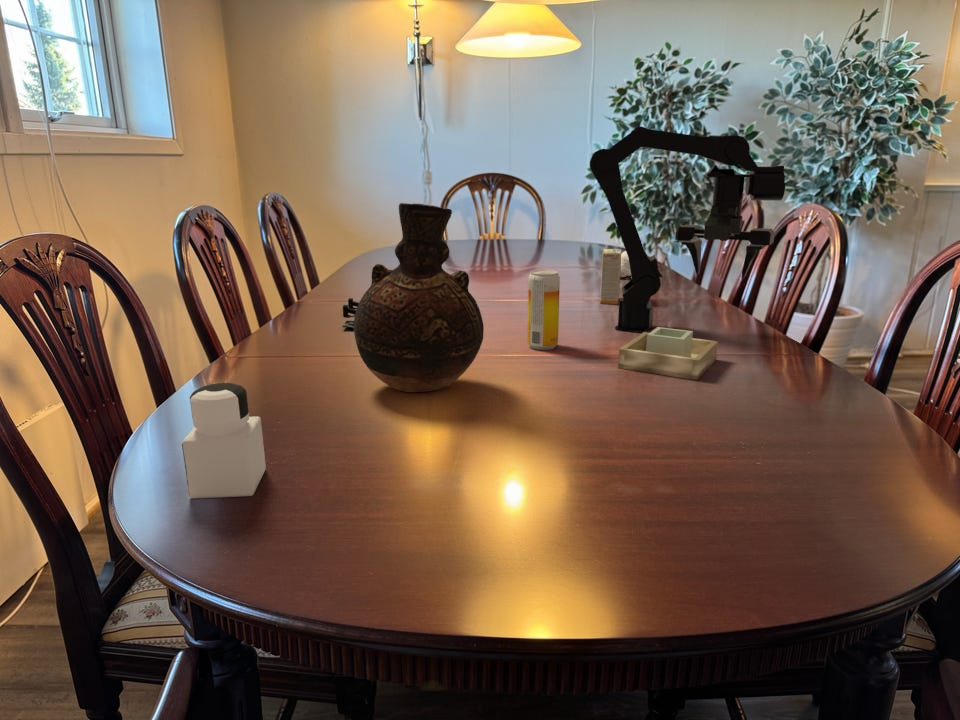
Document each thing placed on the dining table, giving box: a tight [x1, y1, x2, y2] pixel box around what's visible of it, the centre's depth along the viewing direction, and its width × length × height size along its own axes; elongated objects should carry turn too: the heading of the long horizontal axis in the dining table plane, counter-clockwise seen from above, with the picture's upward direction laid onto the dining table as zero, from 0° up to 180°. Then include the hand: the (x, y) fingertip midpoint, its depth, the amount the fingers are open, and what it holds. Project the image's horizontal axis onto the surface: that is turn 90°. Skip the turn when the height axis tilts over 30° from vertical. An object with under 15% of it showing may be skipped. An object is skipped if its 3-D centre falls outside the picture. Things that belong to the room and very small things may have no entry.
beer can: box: [527, 269, 561, 351], centre depth 135 cm, size 6×6×15 cm
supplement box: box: [599, 248, 622, 305], centre depth 176 cm, size 8×5×13 cm, turn 168°
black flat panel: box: [342, 297, 359, 328], centre depth 164 cm, size 30×3×15 cm
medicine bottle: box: [181, 382, 267, 499], centre depth 79 cm, size 7×7×12 cm
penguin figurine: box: [620, 250, 632, 280], centre depth 209 cm, size 6×8×12 cm
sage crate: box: [646, 326, 694, 358], centre depth 124 cm, size 6×6×5 cm
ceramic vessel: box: [353, 202, 485, 393], centre depth 110 cm, size 21×18×30 cm
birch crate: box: [617, 331, 719, 381], centre depth 125 cm, size 14×14×4 cm
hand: (720, 276), depth 144 cm, fingers open, 9 cm apart
